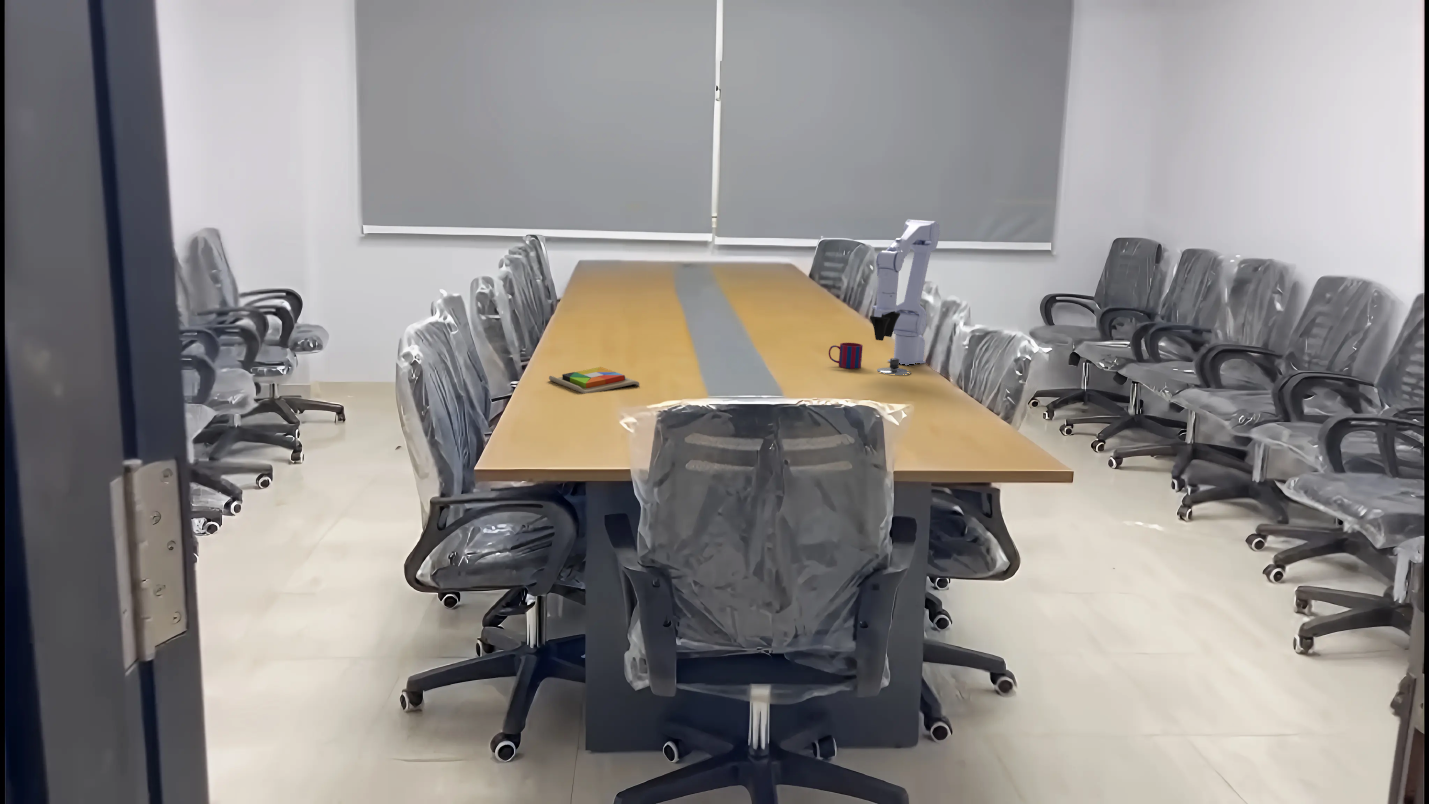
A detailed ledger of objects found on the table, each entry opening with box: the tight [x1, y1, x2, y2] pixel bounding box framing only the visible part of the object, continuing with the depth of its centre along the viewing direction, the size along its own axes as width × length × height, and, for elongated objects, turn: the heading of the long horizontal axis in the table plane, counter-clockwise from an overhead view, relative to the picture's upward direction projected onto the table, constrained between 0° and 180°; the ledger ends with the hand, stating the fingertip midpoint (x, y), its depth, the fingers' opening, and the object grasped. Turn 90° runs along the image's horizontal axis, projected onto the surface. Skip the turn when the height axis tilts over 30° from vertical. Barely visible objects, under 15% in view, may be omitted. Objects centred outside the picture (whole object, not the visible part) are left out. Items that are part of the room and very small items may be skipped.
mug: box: [828, 342, 864, 370], centre depth 327 cm, size 7×10×7 cm
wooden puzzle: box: [548, 366, 641, 394], centre depth 290 cm, size 18×19×4 cm
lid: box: [876, 357, 912, 376], centre depth 322 cm, size 10×10×4 cm
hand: (883, 338), depth 319 cm, fingers open, 7 cm apart
